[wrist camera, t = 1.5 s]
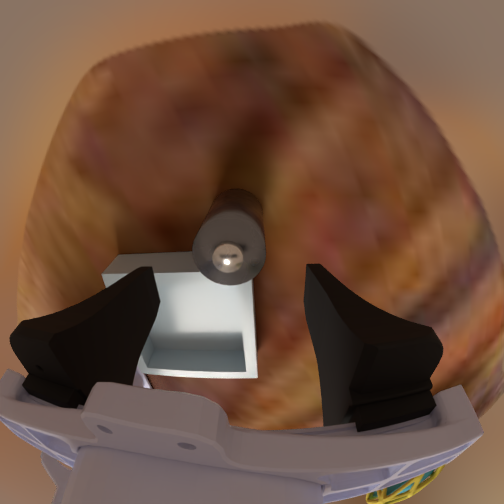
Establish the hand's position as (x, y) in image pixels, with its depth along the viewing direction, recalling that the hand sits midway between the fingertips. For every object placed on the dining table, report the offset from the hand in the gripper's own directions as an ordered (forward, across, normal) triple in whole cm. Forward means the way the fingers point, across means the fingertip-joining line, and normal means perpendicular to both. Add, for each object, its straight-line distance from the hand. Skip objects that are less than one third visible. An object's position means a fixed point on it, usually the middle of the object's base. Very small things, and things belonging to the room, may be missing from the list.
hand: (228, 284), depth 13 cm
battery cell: (+10, 0, 0) cm, 10 cm away
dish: (+10, +5, +9) cm, 14 cm away
